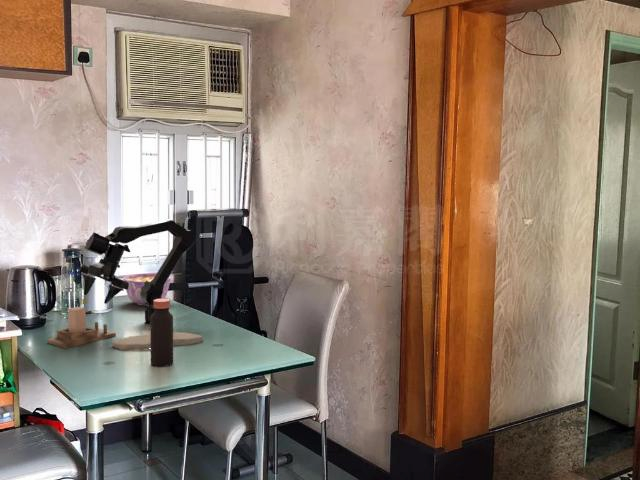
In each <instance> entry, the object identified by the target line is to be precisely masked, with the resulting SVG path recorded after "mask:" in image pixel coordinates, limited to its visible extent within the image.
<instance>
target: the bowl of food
mask: <svg viewBox="0 0 640 480" xmlns="http://www.w3.org/2000/svg"><path fill="white" fill-rule="evenodd" d="M156 274H157V273H136V274H130V275H126V276H124V277H123V279H122V280H124V281H127V282H129V287H128V289H127V290H126V289H125V292H126V295H127V297H128V298H129V300H130V301H132V302H134V303H135V304H137V305H138V306H144V307H145V306H146V307H147V305H146V304H145V302H144V301H143V300H142V299H141V297H140V293H141V290H140V289H141V288H142V287H143V286H144V283H145V282H146V281H148V282H150V281H152V280H153V279H154V277H155V276H156ZM171 280H172V276H171V275H170V276H169V278H168V279H167V281H166V283H165V284H164V289H163V294H162V296H161V298H162V299H166V297H167V295H168V292H169V288H170V287H169V286H170V284H171Z"/></svg>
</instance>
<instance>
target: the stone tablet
mask: <svg viewBox="0 0 640 480" xmlns="http://www.w3.org/2000/svg"><path fill="white" fill-rule="evenodd" d="M203 339H204V338H203V335H199V334H196V333H195V334H193V333H191V332H176V331H175V332H174V331H173V347H175V346H186V345H193V344H199V343H201V342H203ZM111 345H112V347H114V348H116V349H118V350H120V351H130V350H129V349H148V350H150V349H149V348H151V335H150V333H148V334H147V333H146V334H139V335H131V336H127V337H124V338H123V337H122V338H120V339H116V340H114V341H112V342H111Z"/></svg>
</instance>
